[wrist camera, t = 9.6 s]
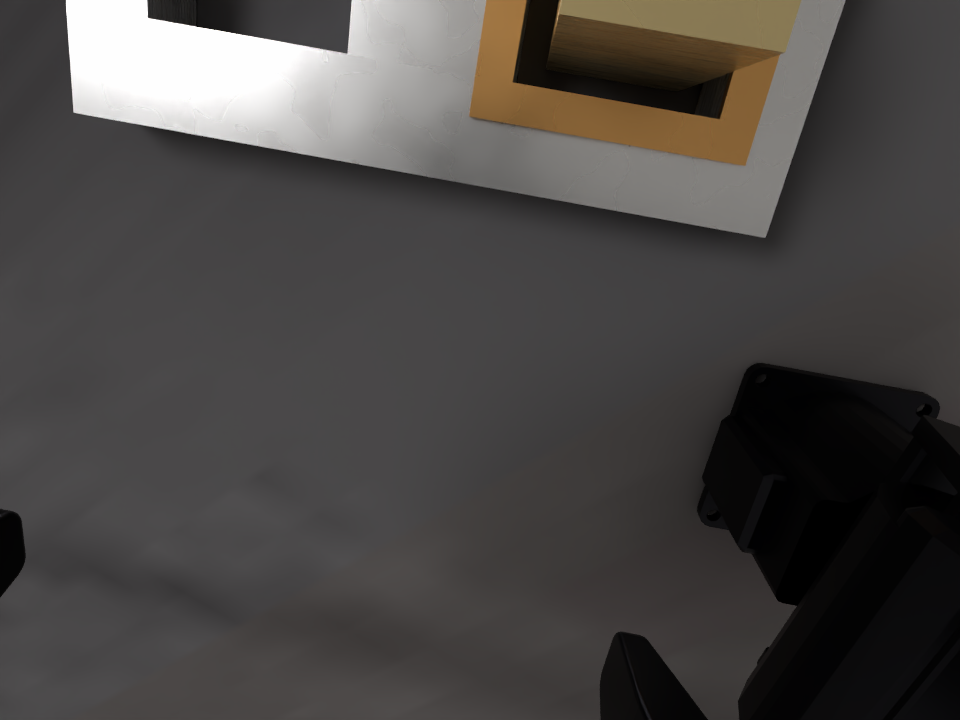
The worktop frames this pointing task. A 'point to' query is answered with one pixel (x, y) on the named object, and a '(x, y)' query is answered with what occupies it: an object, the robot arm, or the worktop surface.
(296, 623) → the worktop surface
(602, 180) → the rail plate
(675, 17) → the brass peg
